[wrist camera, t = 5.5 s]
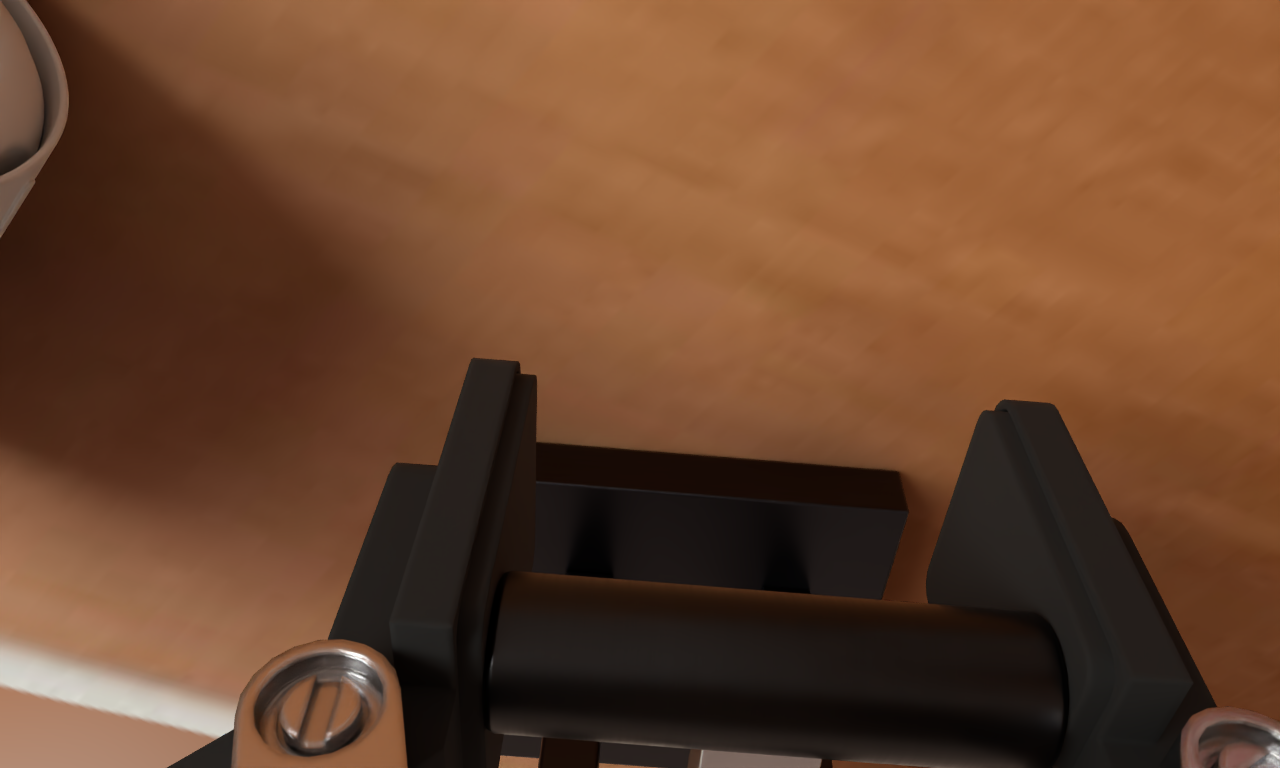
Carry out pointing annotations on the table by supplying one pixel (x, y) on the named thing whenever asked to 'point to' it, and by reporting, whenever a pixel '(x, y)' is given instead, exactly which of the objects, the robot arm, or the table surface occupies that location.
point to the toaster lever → (772, 675)
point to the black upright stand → (706, 541)
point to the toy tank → (27, 103)
